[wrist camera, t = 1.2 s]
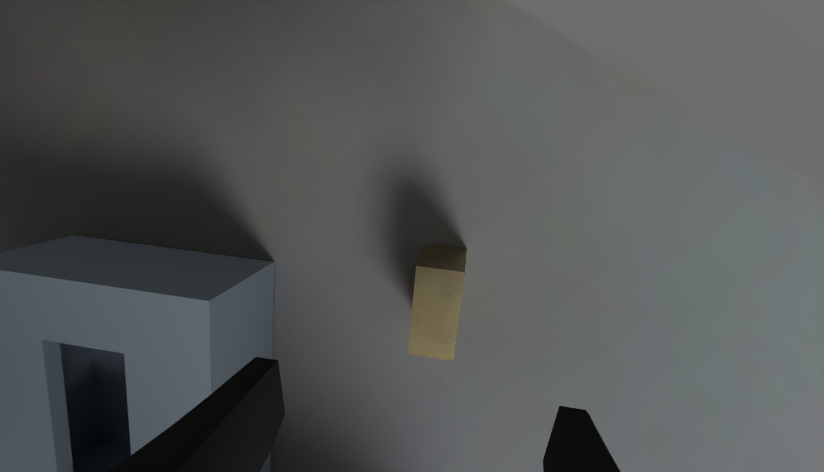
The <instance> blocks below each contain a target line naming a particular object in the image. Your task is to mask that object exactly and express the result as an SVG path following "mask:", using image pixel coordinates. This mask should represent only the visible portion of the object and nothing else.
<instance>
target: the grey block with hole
mask: <svg viewBox="0 0 824 472" xmlns="http://www.w3.org/2000/svg"><path fill="white" fill-rule="evenodd" d="M273 309H274V262H272V261H265V260H257V259H250V258H242V257H235V256H227V255H220V254H212V253H205V252H197V251H190V250H182V249H175V248H167V247H160V246H152V245H145V244H137V243H130V242H122V241H115V240H108V239H100V238H93V237H85V236H78V235H71V236H67V237H62V238H58V239H54V240H50V241H46V242H41V243H37V244H33V245H29V246H24V247H20V248H16V249H12V250H7V251H3V252H0V472H107V471H108V470H110V469H111V468H113V467H114V466H116V465H117V464H119V463H120V462H122V461H123V460H125V459H126V458H128V457H129V456H130V455H132V454H133V453H135V452H136V451H138V450H139V449H140V448H142V447H143V446H145V445H146V444H147V443H149V442H150V441H151V440H153V439H154V438H155V437H157V436H158V435H159V434H161V433H162V432H163V431H165V430H166V429H167V428H169V427H170V426H171V425H173V424H174V423H175V422H177V421H178V420H179V419H181V418H182V417H183V416H184V415H186V414H187V413H188V412H189V411H191V410H192V409H193V408H194V407H196V406H197V405H198V404H199V403H201V402H202V401H203V400H204V399H206V398H207V397H208V396H209V395H210V394H212V393H213V392H214V391H215V390H216V389H218V388H219V387H220V386H221V385H222V384H224V383H225V382H226V381H227V380H228V379H230V378H231V377H232V376H233V375H234V374H236V373H237V372H238V371H239V370H240V369H242V368H243V367H244V366H245V365H246V364H248V363H249V362H250V361H251V360H252V359H254V358H255V357H261V358H267V359H273ZM260 472H271V451H270V453H269V455H268V457H267V459H266V461H265V463H264V465H263V467H262V469H261V471H260Z"/></svg>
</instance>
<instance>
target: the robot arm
mask: <svg viewBox="0 0 824 472" xmlns="http://www.w3.org/2000/svg"><path fill="white" fill-rule="evenodd" d="M284 415H285V410H284V403H283V395H282V387H281V380H280V372H279V364H278V360H274V359H267V358H261V357H255V358H254V359H252V360H251V361H250V362H249V363H248V364H246V365H245V366H244V367H243V368H242V369H240V370H239V371H238V372H237V373H236V374H234V375H233V376H232V377H231V378H230V379H228V380H227V381H226V382H225V383H224V384H222V385H221V386H220V387H219V388H218V389H216V390H215V391H214V392H213V393H212V394H210V395H209V396H208V397H207V398H206V399H204V400H203V401H202V402H201V403H199V404H198V405H197V406H196V407H194V408H193V409H192V410H191V411H189V412H188V413H187V414H186V415H184V416H183V417H182V418H181V419H179V420H178V421H177V422H175V423H174V424H173V425H171V426H170V427H169V428H167V429H166V430H165V431H163V432H162V433H161V434H159V435H158V436H157V437H155V438H154V439H153V440H151V441H150V442H149V443H147V444H146V445H145V446H143V447H142V448H140V449H139V450H138V451H136V452H135V453H133V454H132V455H130V456H129V457H128V458H126V459H125V460H123V461H122V462H120V463H119V464H117V465H116V466H114V467H113V468H111V469H110V470H108V471H107V472H260V471H261V469H262V467H263V465H264V463H265V461H266V459H267V457H268V455H269V453H270V451H271V448H272V446H273V444H274V441H275V439H276V436H277V434H278V431H279V428H280V426H281V423H282V420H283V418H284ZM543 468H544V472H620V470H619V468H618V467H617V465H616V463H615V461H614V460H613V458H612V456H611V454H610V453H609V451H608V449H607V447H606V445H605V444H604V442H603V440H602V438H601V436H600V434H599V432H598V431H597V429H596V427H595V425H594V423H593V421H592V419H591V417H590V415H589V414H588V412H587V411H586V410H582V409H576V408H569V407H563V406H559V409H558V413H557V416H556V419H555V423H554V426H553V429H552V432H551V436H550V439H549V442H548V446H547V449H546V452H545V455H544V459H543Z"/></svg>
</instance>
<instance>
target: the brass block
mask: <svg viewBox="0 0 824 472" xmlns="http://www.w3.org/2000/svg"><path fill="white" fill-rule="evenodd" d="M466 251H467V248H459V247H451V246H442V245H434V244H426V246H425V248H424V250H423V253H422V255H421V257H420V259H419V261H418V263H417V265H416V273H415V283H414V293H413V304H412V314H411V325H410V335H409V345H408V354H411V355H418V356H424V357H431V358H437V359H443V360H450V361H454V355H455V347H456V338H457V330H458V322H459V314H460V306H461V298H462V290H463V282H464V274H465V263H466Z"/></svg>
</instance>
